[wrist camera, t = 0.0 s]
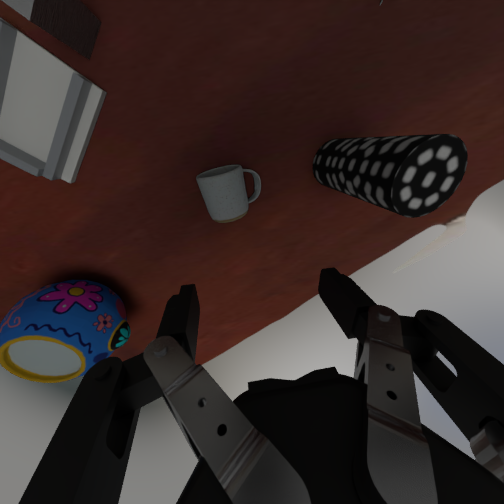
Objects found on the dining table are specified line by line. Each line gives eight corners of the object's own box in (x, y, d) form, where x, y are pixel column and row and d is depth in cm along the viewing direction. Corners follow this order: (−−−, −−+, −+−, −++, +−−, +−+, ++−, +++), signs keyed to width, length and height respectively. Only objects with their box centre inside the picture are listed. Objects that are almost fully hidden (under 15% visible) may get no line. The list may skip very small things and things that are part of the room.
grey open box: (0, 17, 24) (-38, -5, 21) (106, 92, 29) (90, 85, 25) (-21, 132, 29) (-55, 131, 25) (74, 182, 34) (57, 186, 30)
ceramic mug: (212, 215, 40) (212, 230, 33) (197, 173, 36) (193, 179, 29) (263, 200, 40) (273, 212, 34) (254, 157, 36) (263, 159, 30)
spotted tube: (321, 133, 36) (420, 124, 18) (361, 144, 38) (484, 144, 20) (306, 181, 40) (377, 211, 22) (343, 189, 41) (435, 222, 24)
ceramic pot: (111, 337, 50) (74, 404, 37) (29, 302, 43) (-54, 372, 30) (154, 295, 47) (130, 354, 34) (73, 248, 39) (0, 301, 26)
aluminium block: (59, -12, 24) (-36, -106, 15) (101, 22, 26) (38, -43, 17) (49, 30, 26) (-43, -33, 17) (89, 59, 27) (26, 18, 18)
